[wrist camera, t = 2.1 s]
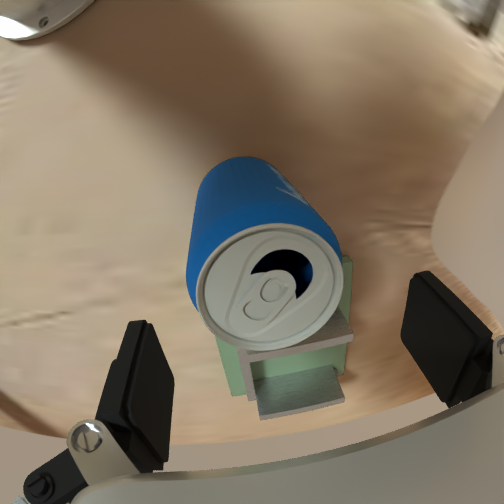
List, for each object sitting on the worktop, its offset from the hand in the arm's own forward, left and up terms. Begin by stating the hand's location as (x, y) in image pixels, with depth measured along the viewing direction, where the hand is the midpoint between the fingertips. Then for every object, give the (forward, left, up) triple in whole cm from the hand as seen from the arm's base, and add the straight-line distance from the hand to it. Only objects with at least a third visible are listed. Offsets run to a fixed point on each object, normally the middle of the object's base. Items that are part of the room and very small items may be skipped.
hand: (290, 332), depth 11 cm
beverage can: (-1, 0, -14) cm, 14 cm away
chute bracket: (+13, +2, -12) cm, 18 cm away
